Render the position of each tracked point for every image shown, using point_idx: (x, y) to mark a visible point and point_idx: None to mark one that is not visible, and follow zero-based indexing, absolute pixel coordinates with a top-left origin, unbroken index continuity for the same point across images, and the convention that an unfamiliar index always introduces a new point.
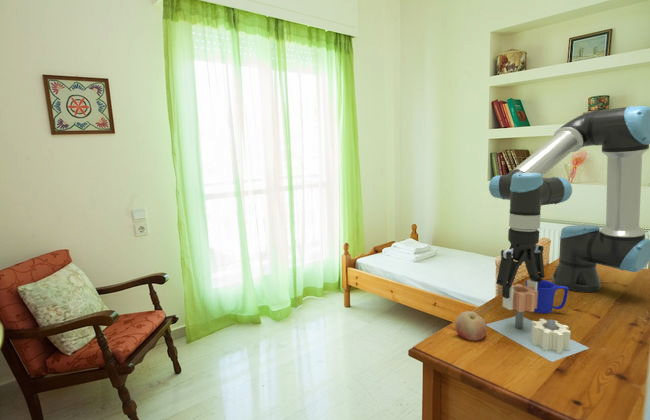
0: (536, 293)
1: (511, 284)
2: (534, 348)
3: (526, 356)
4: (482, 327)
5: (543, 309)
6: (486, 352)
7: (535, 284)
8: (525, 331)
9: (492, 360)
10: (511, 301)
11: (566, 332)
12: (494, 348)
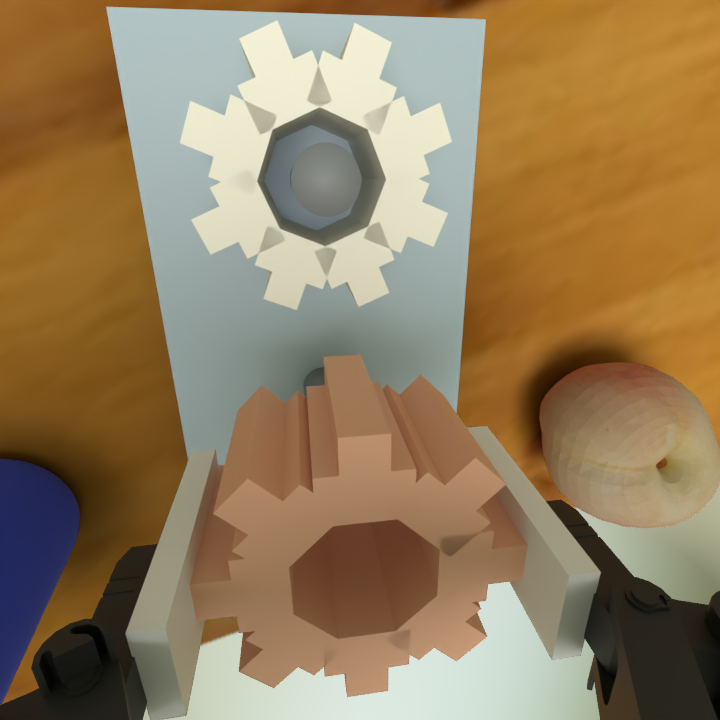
0: (261, 472)
1: (632, 616)
2: (440, 181)
3: (487, 180)
4: (644, 388)
5: (12, 487)
6: (613, 291)
7: (172, 604)
8: (322, 343)
9: (650, 226)
10: (512, 468)
11: (287, 47)
12: (553, 304)
